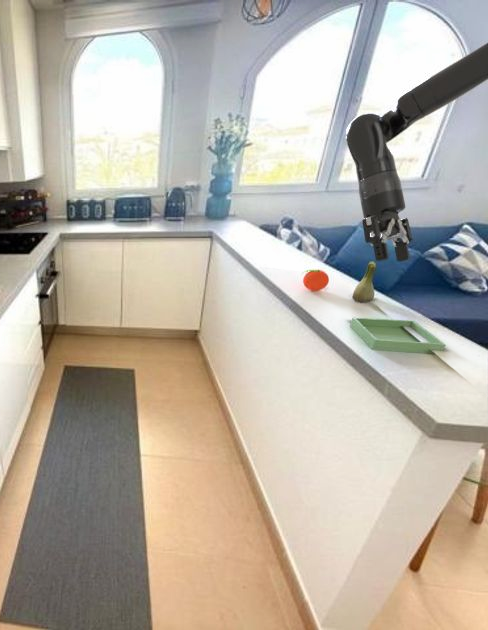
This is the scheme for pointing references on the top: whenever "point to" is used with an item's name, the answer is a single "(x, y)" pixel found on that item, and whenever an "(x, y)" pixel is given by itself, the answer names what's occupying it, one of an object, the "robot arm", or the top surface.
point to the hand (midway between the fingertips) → (393, 260)
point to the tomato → (315, 280)
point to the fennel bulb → (365, 286)
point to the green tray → (394, 335)
